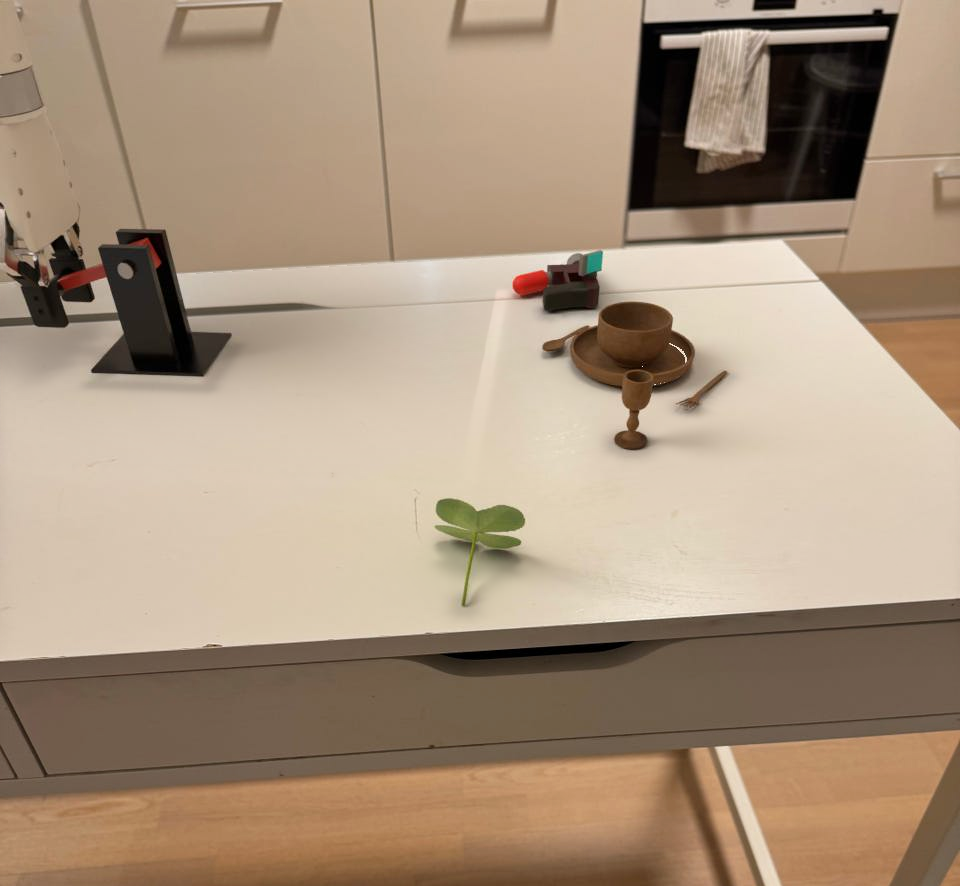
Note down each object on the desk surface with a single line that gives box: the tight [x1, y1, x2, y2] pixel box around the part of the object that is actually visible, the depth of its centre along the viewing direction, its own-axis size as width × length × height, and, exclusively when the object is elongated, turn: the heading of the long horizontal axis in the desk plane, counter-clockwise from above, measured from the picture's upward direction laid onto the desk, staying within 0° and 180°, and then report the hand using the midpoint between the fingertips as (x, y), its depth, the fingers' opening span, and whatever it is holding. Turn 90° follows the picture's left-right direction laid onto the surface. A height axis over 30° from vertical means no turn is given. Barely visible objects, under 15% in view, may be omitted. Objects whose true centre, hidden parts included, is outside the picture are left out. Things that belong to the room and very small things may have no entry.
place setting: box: [541, 301, 728, 450], centre depth 80 cm, size 18×20×6 cm
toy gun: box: [512, 249, 604, 312], centre depth 96 cm, size 10×12×5 cm
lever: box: [49, 238, 161, 297], centre depth 80 cm, size 11×5×2 cm, turn 85°
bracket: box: [90, 228, 232, 378], centre depth 82 cm, size 11×9×12 cm
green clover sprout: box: [434, 497, 526, 607], centre depth 60 cm, size 7×8×7 cm
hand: (65, 311), depth 83 cm, fingers closed on lever, 5 cm apart
